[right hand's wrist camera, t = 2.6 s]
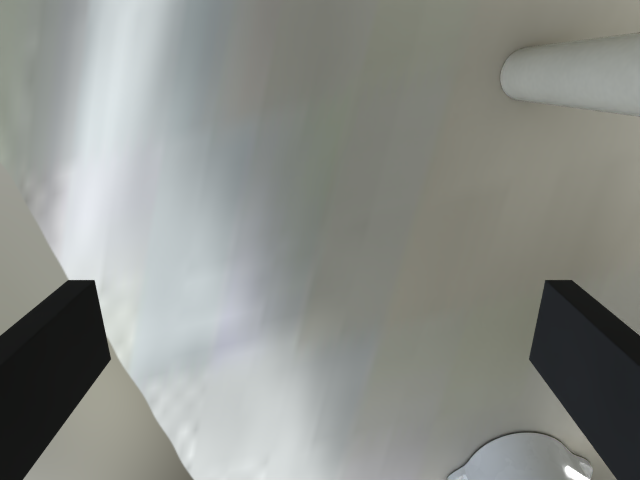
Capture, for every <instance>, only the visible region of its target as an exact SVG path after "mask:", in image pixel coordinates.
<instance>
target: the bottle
mask: <svg viewBox="0 0 640 480" xmlns="http://www.w3.org/2000/svg"><path fill="white" fill-rule="evenodd" d="M500 81H501V86H502V89H503V90H504V92H505V93H506V94H507V95H508V96H509V97H510V98H512V99H514V100H519V101H526V102H533V103H541V104H548V105H556V106H563V107H571V108H578V109H585V110H593V111H600V112H608V113H615V114H623V115H630V116H637V117H640V32H638V33H631V34H623V35H615V36H608V37H600V38H592V39H584V40H577V41H569V42H561V43H554V44H546V45H538V46H531V47H524V48H521V49H519V50H517V51H515V52H514V53H512V54H511V55H510V56H509V57H508V58H507V60H506V61H505V63H504V65H503V67H502V70H501V75H500Z"/></svg>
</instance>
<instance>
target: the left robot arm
mask: <svg viewBox="0 0 640 480" xmlns="http://www.w3.org/2000/svg"><path fill="white" fill-rule="evenodd" d="M592 473H593V468H592V466H591V465H590V463H589V461H588V460H586V459H584V458H582V457H579V456H577V455H574V454H572V453H571V452H570V451H569V450H568V449H567V448H566V447H565V446H564V445H563V444H562V443H561V442H560V441H558V440H556V439H555V438H552V437H550V436H547V435H544V434H539V433H516V434H510V435H506V436H503V437H500V438H498V439H495V440H493V441H491V442H489V443H488V444H486V445H485V446H483V447H482V448H480V449H479V450H478V451H477V452H476V453H475V454H474V455H473V456H472V457H471V459H470V460H469V461H468V462H467V464H466V465H465V466H463V467H462V468H460V469H458V470H457V471H455V472H453V473H452V474H451V475H450V476H449V477H448V478H447V480H590V479H591V476H592Z"/></svg>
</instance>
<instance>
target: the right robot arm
mask: <svg viewBox="0 0 640 480" xmlns="http://www.w3.org/2000/svg"><path fill="white" fill-rule="evenodd" d="M110 360H111V357H110V352H109V348H108V343H107V338H106V333H105V328H104V323H103V319H102V314H101V309H100V304H99V299H98V295H97V290H96V285H95V280H68V281H67V282H65V283H64V284H63V285H62V286H61V287H59V288H58V289H57V290H56V291H54V292H53V293H52V294H51V295H50V296H48V297H47V298H46V299H45V300H43V301H42V302H41V303H40V304H39V305H37V306H36V307H35V308H34V309H32V310H31V311H30V312H29V313H28V314H26V315H25V316H24V317H23V318H21V319H20V320H19V321H18V322H17V323H15V324H14V325H13V326H12V327H10V328H9V329H8V330H7V331H6V332H4V333H3V334H2V335H1V336H0V480H23V479H24V477H25V476H26V475H27V473H28V472H29V470H30V469H31V468H32V466H33V465H34V464H35V462H36V461H37V460H38V458H39V457H40V455H41V454H42V453H43V451H44V450H45V449H46V447H47V446H48V445H49V443H50V442H51V440H52V439H53V438H54V436H55V435H56V434H57V432H58V431H59V429H60V428H61V427H62V425H63V424H64V423H65V421H66V420H67V419H68V417H69V416H70V414H71V413H72V412H73V410H74V409H75V408H76V406H77V405H78V404H79V402H80V401H81V399H82V398H83V397H84V395H85V394H86V393H87V391H88V390H89V389H90V387H91V386H92V384H93V383H94V382H95V380H96V379H97V378H98V376H99V375H100V374H101V372H102V371H103V369H104V368H105V367H106V365H107V364H108V363H109V361H110ZM529 360H530V361H531V363H532V364H533V365H534V367H535V368H536V369H537V371H538V372H539V374H540V375H541V376H542V378H543V379H544V380H545V382H546V383H547V384H548V386H549V387H550V389H551V390H552V391H553V393H554V394H555V395H556V397H557V398H558V399H559V401H560V402H561V404H562V405H563V406H564V408H565V409H566V410H567V412H568V413H569V414H570V416H571V417H572V419H573V420H574V421H575V423H576V424H577V425H578V427H579V428H580V429H581V431H582V432H583V434H584V435H585V436H586V438H587V439H588V440H589V442H590V443H591V445H592V446H593V447H594V449H595V450H596V451H597V453H598V454H599V455H600V457H601V458H602V460H603V461H604V462H605V464H606V465H607V466H608V468H609V469H610V470H611V472H612V473H613V475H614V476H615V477H616V479H617V480H640V336H639V335H638V334H637V333H636V332H634V331H633V330H632V329H631V328H630V327H628V326H627V325H626V324H625V323H623V322H622V321H621V320H620V319H619V318H617V317H616V316H615V315H614V314H612V313H611V312H610V311H609V310H608V309H606V308H605V307H604V306H603V305H601V304H600V303H599V302H598V301H597V300H595V299H594V298H593V297H592V296H590V295H589V294H588V293H587V292H586V291H584V290H583V289H582V288H581V287H580V286H578V285H577V284H576V283H575V282H573V281H572V280H545V285H544V290H543V295H542V299H541V304H540V309H539V314H538V319H537V323H536V328H535V333H534V338H533V343H532V348H531V352H530V357H529Z"/></svg>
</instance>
